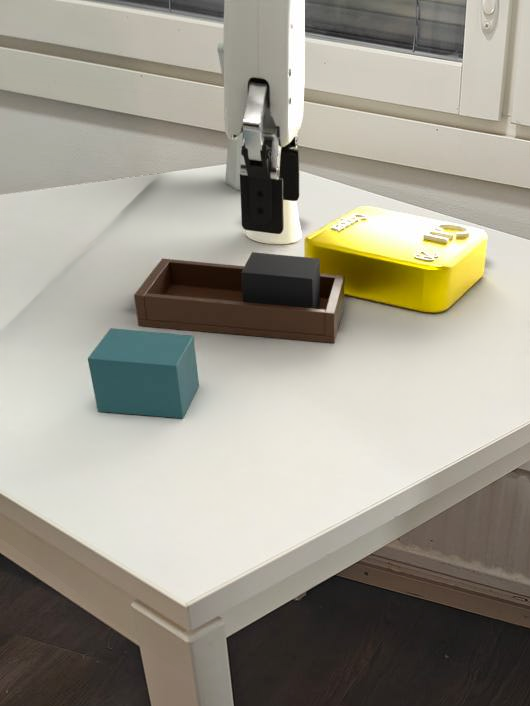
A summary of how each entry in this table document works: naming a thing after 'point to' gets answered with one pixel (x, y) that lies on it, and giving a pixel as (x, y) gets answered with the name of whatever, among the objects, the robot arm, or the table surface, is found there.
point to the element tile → (400, 257)
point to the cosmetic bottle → (289, 232)
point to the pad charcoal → (281, 280)
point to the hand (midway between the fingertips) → (272, 213)
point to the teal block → (144, 373)
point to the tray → (231, 304)
